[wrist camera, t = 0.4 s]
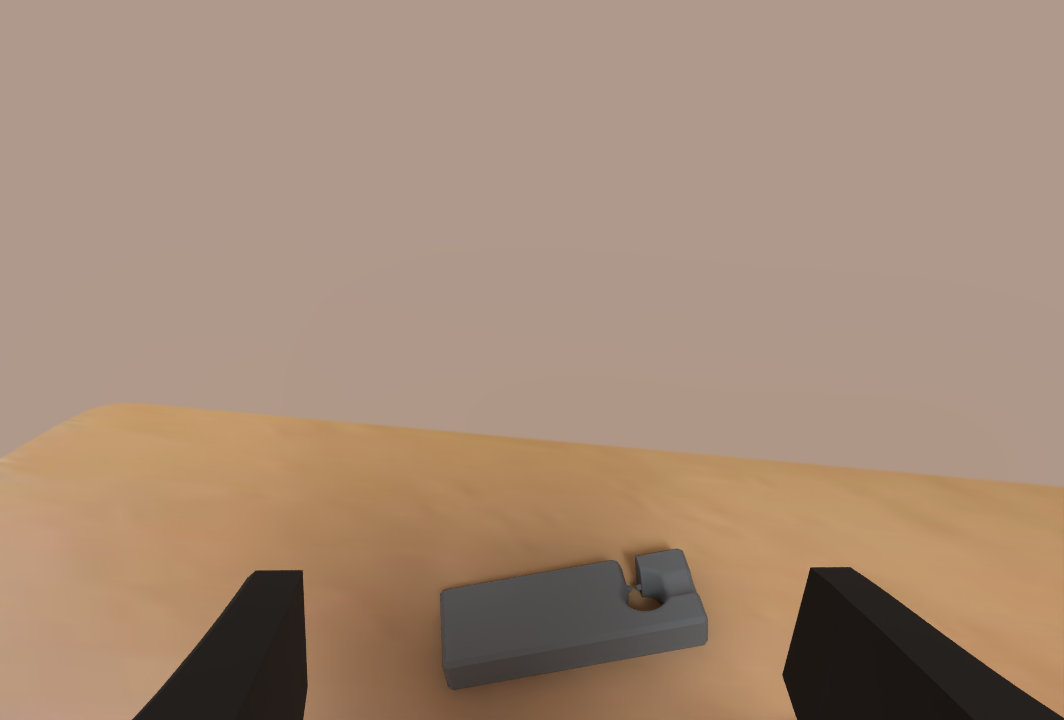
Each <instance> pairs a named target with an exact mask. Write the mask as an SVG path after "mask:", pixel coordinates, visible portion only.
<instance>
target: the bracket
mask: <svg viewBox="0 0 1064 720" xmlns="http://www.w3.org/2000/svg"><path fill="white" fill-rule="evenodd" d="M635 563H636V577H637V581H638V584H637V585H636V586H635V588H636V589H637V590H640V591H641V595H642V597H651V598H654V599H657V600H658V601H660V602H661V603H662V604H663V605H662V606H661V607H659V608H657V609H654V610H650V611H640V610H636V609H633V608H631V607H629V606H628V605H627V604H628V592H630V591H631V590H632V588H631V587H630V586H626V583H625V579H624V575H623V572H622V569H621V567H620V565H619V563H618V562H617V561H614V560H610V561H605V562H599V563H593V564H587V565H582V566H576V567H570V568H565V569H559V570H553V571H548V572H542V573H536V574H531V575H525V576H519V577H514V578H508V579H502V580H497V581H491V582H485V583H480V584H474V585H468V586H463V587H457V588H451V589H446V590H443V592H442V593H441V594H440V603H441V634H442V664H443V669H444V673H445V677H446V680H447V683H448V686H449V687H450V688H451V689H453V690H456V689H461V688H467V687H472V686H478V685H484V684H489V683H495V682H500V681H506V680H511V679H517V678H523V677H528V676H534V675H539V674H545V673H550V672H556V671H562V670H567V669H573V668H578V667H584V666H590V665H595V664H601V663H606V662H612V661H617V660H623V659H629V658H634V657H640V656H645V655H651V654H656V653H662V652H668V651H673V650H679V649H684V648H690V647H695V646H701V645H705V643H706V642H707V640H708V618H707V615H706V613H705V610H704V607H703V604H702V602H701V599H700V596H699V595H698V594H697V592H696V589H695V587H694V584H693V580H692V577H691V573H690V569H689V567H688V564H687V561H686V559H685V556H684V553H683V551H682V550H680V549H672V550H667V551H661V552H655V553H650V554H644V555H638V556H635Z"/></svg>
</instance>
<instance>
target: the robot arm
mask: <svg viewBox="0 0 1064 720" xmlns="http://www.w3.org/2000/svg"><path fill="white" fill-rule="evenodd" d="M782 675H783V678H784V682H785V685H786V688H787V691H788V694H789V697H790V700H791V703H792V706H793V709H794V712H795V715H796V717H797V720H1064V718H1063V717H1061V716H1060V715H1058V714H1057V713H1055V712H1054V711H1052V710H1051V709H1049V708H1048V707H1046V706H1045V705H1043V704H1042V703H1040V702H1039V701H1037V700H1036V699H1034V698H1033V697H1031V696H1030V695H1028V694H1027V693H1025V692H1024V691H1022V690H1021V689H1019V688H1018V687H1016V686H1015V685H1013V684H1012V683H1011V682H1009V681H1008V680H1006V679H1005V678H1003V677H1002V676H1001V675H999V674H998V673H996V672H995V671H993V670H992V669H991V668H989V667H988V666H986V665H985V664H984V663H982V662H981V661H979V660H978V659H977V658H975V657H974V656H972V655H971V654H970V653H968V652H967V651H966V650H964V649H963V648H961V647H960V646H959V645H957V644H956V643H955V642H953V641H952V640H950V639H949V638H948V637H946V636H945V635H944V634H942V633H941V632H940V631H938V630H937V629H936V628H934V627H933V626H932V625H930V624H929V623H927V622H926V621H925V620H923V619H922V618H921V617H919V616H918V615H917V614H915V613H914V612H913V611H911V610H910V609H909V608H907V607H906V606H905V605H903V604H902V603H900V602H899V601H898V600H896V599H895V598H894V597H892V596H891V595H890V594H888V593H887V592H885V591H884V590H883V589H881V588H880V587H878V586H877V585H876V584H874V583H873V582H871V581H870V580H868V579H867V578H866V577H864V576H863V575H861V574H860V573H858V572H857V571H855V570H853V569H852V568H850V567H813V568H810V571H809V575H808V579H807V583H806V587H805V590H804V594H803V598H802V602H801V606H800V609H799V613H798V617H797V621H796V625H795V629H794V632H793V636H792V640H791V644H790V648H789V651H788V655H787V659H786V663H785V667H784V671H783V674H782ZM307 687H308V684H307V661H306V638H305V615H304V591H303V570H279V571H255V572H254V573H253V574H251V575H250V576H249V577H248V578H247V579H246V581H245V582H244V583H243V585H242V586H241V588H240V589H239V591H238V592H237V593H236V595H235V596H234V597H233V599H232V600H231V602H230V603H229V604H228V606H227V607H226V608H225V610H224V611H223V612H222V614H221V615H220V616H219V618H218V619H217V620H216V622H215V623H214V624H213V625H212V627H211V628H210V629H209V630H208V632H207V633H206V634H205V636H204V637H203V638H202V639H201V641H200V642H199V643H198V644H197V646H196V647H195V648H194V649H193V650H192V652H191V653H190V654H189V655H188V656H187V658H186V659H185V660H184V661H183V662H182V664H181V665H180V666H179V667H178V668H177V670H176V671H175V672H174V673H173V674H172V676H171V677H170V678H169V679H168V680H167V682H166V683H165V684H164V685H163V686H162V687H161V689H160V690H159V691H158V692H157V693H156V694H155V695H154V697H153V698H152V699H151V700H150V701H149V702H148V703H147V704H146V705H145V706H144V707H143V709H142V710H141V711H140V712H139V713H138V714H137V715H136V716H135V717H134V718H133V719H132V720H303V717H304V709H305V702H306V694H307Z"/></svg>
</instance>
